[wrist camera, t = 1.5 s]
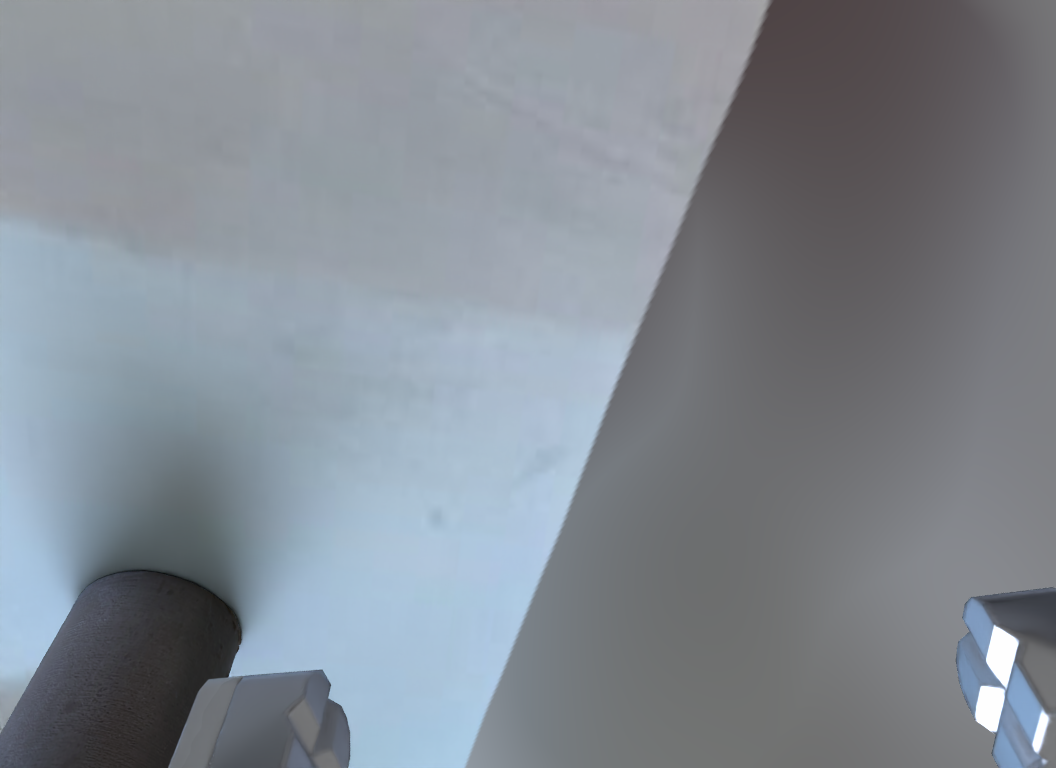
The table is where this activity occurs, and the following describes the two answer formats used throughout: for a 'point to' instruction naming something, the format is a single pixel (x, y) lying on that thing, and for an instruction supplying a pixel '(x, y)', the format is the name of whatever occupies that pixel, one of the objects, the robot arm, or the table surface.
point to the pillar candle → (122, 675)
